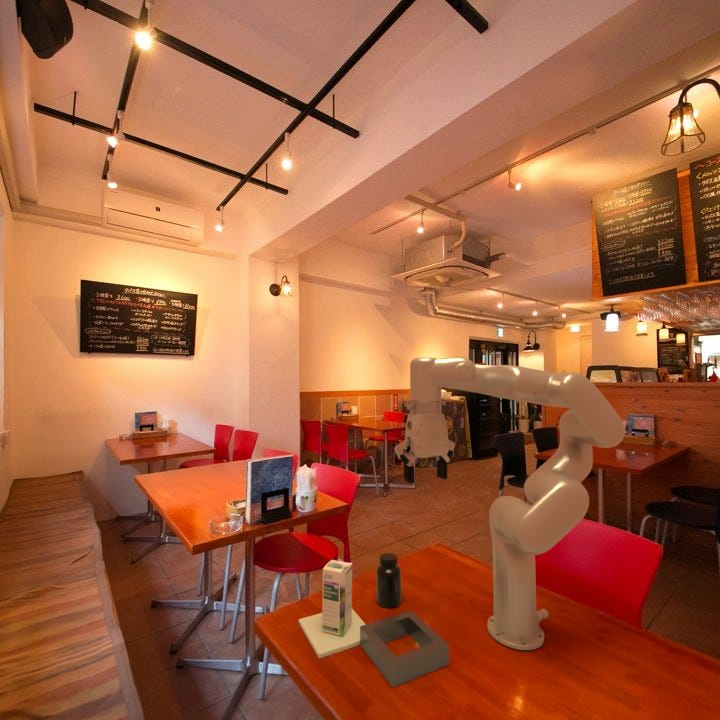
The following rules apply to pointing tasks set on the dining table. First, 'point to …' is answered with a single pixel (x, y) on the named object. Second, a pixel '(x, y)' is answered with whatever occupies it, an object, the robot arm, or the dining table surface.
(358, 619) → the pad
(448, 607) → the dining table surface
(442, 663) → the collar
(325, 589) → the syrup box
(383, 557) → the supplement bottle
